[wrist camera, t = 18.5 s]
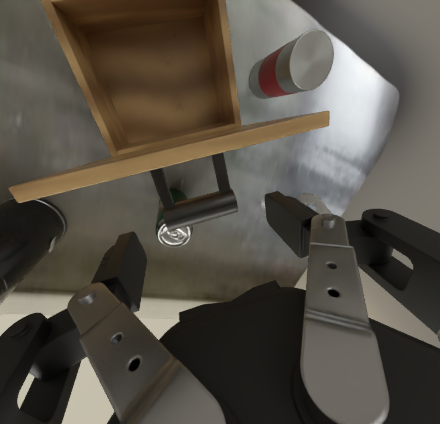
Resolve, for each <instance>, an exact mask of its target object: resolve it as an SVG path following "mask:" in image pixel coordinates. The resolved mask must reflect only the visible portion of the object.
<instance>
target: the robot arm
mask: <svg viewBox="0 0 440 424" xmlns="http://www.w3.org/2000/svg"><path fill="white" fill-rule="evenodd" d="M265 207H266V217H267V221H268V223H269V225H270V226H271V227H272V228H273V230H274V231H275V232H276V233H277V234H278V235H279V236H280V237H281V238H282V239H283V240H284V242H285V243H286V244H287V245H288V246H289V247H290V248H291V249H292V250H293V251H294V253H295V254H296V255H297V256H298V257H299V258H303V257H306V256H308V270H307V284H306V290H303V289H298V288H292V287H280V286H279V285H278V283H277V282H276V280H274V281H271V282H269V283H266V284H263V285H260V286H257V287H254V288H252V289H250V290H249V291H247V292H245V293H244V294H242V295H241V296H239V297H237V298H236V299H234V300H232V301H230V302H223V303H212V304H203V305H200V306H197V307H194V308H192V309H189V310H186V311H183V312H180V313H179V320H180V322H178V323H177V324H175V325H174V326H173V327H171V328H170V329H169V330H168V331H167V332H166V333H165V334H164V335H163V336H162V337H161V338H160V340H158V339H157V338H156V337H155V336H154V335H153V334H152V333H151V332H150V331H149V330H148V328H146V326H145V325H144V324H143V323H142V322H141V321H140V320H139V319H138V318H137V317H136V316H135V315H134V312H137V311H139V308H140V302H141V295H142V289H143V283H144V277H145V271H146V264H147V258H146V254H145V251H144V249H143V247H142V245H141V243H140V241H139V239H138V237H137V235H136V233H135V232H129V233H126V234H122V235H119V237H118V239H117V242H116V244H115V246H112V247H111V248H110V249H109V250H108V251H107V252H106V253H105V255H104V257H103V259H102V261H101V264H100V267H99V268H98V270H97V272H96V274H95V276H94V278H93V280H92V282H91V284H90V285H88V286H86V287H84V288H82V289H81V290H80V291H78V292H77V293H76V294H75V295H74V296H73V297H72V298H71V300H70V301H69V303H68V306H67V309H65V310H63V311H61V312H59V313H57V314H56V315H54V316H52V317H50V318H48V319H47V318H46V317H45V316H44V315H43V314H41V313H33V314H30V315H28V316H26V317H24V318H22V319H20V320H19V321H17V322H16V323H14V324H13V325H12V326H10V327H9V328H8V329H7V330H6V331H5V332H4V333H3V334H2V335H1V336H0V424H61V423H62V420H63V417H64V414H65V411H66V408H67V405H68V401H69V398H70V395H71V392H72V388H73V385H74V382H75V379H76V376H77V373H78V369H79V366H80V363H81V360H82V359H84V358H85V357H88V359H89V361H90V363H91V365H92V367H93V369H94V371H95V373H96V375H97V377H98V379H99V381H100V383H101V385H102V387H103V389H104V391H105V393H106V395H107V397H108V399H109V401H110V403H111V405H112V407H113V409H114V413H113V415H112V416H111V418H110V420H109V421H108V423H107V424H440V349H439V348H437V347H435V346H433V345H430V344H428V343H426V342H423V341H421V340H419V339H417V338H414V337H412V336H410V335H407V334H405V333H403V332H401V331H398V330H396V329H394V328H391V327H389V326H387V325H384V324H382V323H380V322H378V321H375V320H373V319H371V318H368V314H367V309H366V304H365V299H364V294H363V289H362V284H361V279H360V274H359V269H358V266H359V267H360V268H361V269H362V270H363V271H364V272H365V273H367V274H368V275H369V276H370V277H371V278H372V279H373V280H375V281H376V282H377V283H378V284H379V285H380V286H381V287H383V288H384V289H385V290H386V291H387V292H388V293H389V294H391V295H392V296H393V297H394V298H395V299H396V300H398V301H399V302H400V303H401V304H402V305H403V306H404V307H406V308H407V309H408V310H409V311H410V312H411V313H413V314H414V315H415V316H416V317H417V318H418V319H419V320H420V321H422V322H423V323H424V324H425V325H426V326H427V327H429V328H430V329H431V330H432V331H433V332H434V333H435V334H436V335H438V338H439V341H440V233H438V232H436V231H434V230H432V229H429V228H427V227H425V226H423V225H421V224H419V223H417V222H415V221H412V220H410V219H408V218H406V217H404V216H402V215H399V214H397V213H395V212H393V211H390V210H385V209H369V210H366V211H364V212H363V214H362V218H361V220H355V221H345V220H344V219H343V218H341V217H339V216H337V215H333V214H319V213H317V212H315V211H314V210H312V209H311V208H309V207H308V206H306V205H305V204H303V203H301V202H300V201H299V200H297V199H296V198H292V197H289V196H284V195H283V194H281V193H280V192H278V191H276V192H272V193H269V194H266V195H265ZM66 228H67V224H66V220H65V218H64V216H63V214H62V213H61V212H60V210H59V209H58V208H56V207H55V206H54V205H52V204H51V203H49V202H47V201H45V200H43V199H40V198H38V199H34V200H30V201H26V202H22V203H18V202H17V201H16V199H15V198H14V197H12V198H9V199H7V200H5V201H3V202H1V203H0V304H1V303H2V302H3V301H4V300H5V299H6V298H7V296H8V295H9V294H10V293H11V292H12V291H13V290H14V289H15V288H16V287H17V285H18V284H19V283H20V282H21V281H22V280H23V279H24V278H25V277H26V276H27V274H28V273H29V272H30V271H31V270H32V269H33V268H34V267H35V266H36V265H37V263H38V262H39V261H40V260H41V259H42V258H43V257H44V256H45V255H46V253H47V252H48V251H49V253H50V252H51V251H52V250H53V246H54V245H55V244H56V243H57V242H58V241H59V240H60V239H61V238H62V237H63V236H64V234H65V232H66ZM393 249H396V250H397V251H399V252H401V253H402V254H404V255H405V256H407V257H408V258H409V259H410V260H411V262H412V264H413V270H412V269H410V268H409V267H407V266H406V265H404V264H403V263H402V262H400V261H399V260H397V259H396V258H394V257H393V256H391V255H392V252H393ZM28 373H30V374H32V375H33V376H34V377H35V378H34V380H33V382H32V384H31V387H30V388H29V391H28V393H27V395H26V397H25V399H24V401H23V403H22V405H21V407H20V409H19V408H18V404H17V398H18V394H19V391H20V389H21V387H22V385H23V383H24V381H25V379H26V377H27V375H28Z"/></svg>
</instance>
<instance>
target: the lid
mask: <svg viewBox="0 0 440 424" xmlns="http://www.w3.org/2000/svg"><path fill="white" fill-rule="evenodd" d="M326 126H329V111H323V112H318V113H312V114H306V115H300V116H295V117H289V118H283V119H277V120H272V121H266V122H260V123H255V124H249V125H243V126H239V127H234V128H230V129H226V130H222V131H217V132H213V133H209V134H205V135H200V136H196V137H192V138H188V139H184V140H179V141H175V142H171V143H167V144H162V145H158V146H154V147H150V148H145V149H141V150H137V151H133V152H129V153H124V154H120V155H116V156H112V157H108V158H105V159H101V160H98V161H95V162H92V163H88V164H85V165H82V166H78V167H75V168H72V169H68V170H65V171H62V172H58V173H55V174H52V175H48V176H45V177H42V178H38V179H35V180H32V181H28V182H25V183H22V184H18V185H15V186H12V187H9V188H8V189H9V191H10V192H11V194H12V195H13V197H14V198H15V199H16V201H17V202H18V203H22V202H26V201H30V200H34V199H38V198H42V197H46V196H50V195H54V194H58V193H62V192H66V191H70V190H74V189H78V188H82V187H86V186H90V185H94V184H98V183H102V182H106V181H110V180H114V179H118V178H122V177H126V176H130V175H134V174H138V173H142V172H146V171H150V172H151V175H152V177H153V180H154V183H155V186H156V189H157V191H158V194H159V197H160V200H161V202H162V205H163V207H162V215H163V219H164V222H165V225H166V227H167V229H168V230H169V231H173V230H176V229H180V228H183V227H187V226H190V225H194V224H197V223H200V222H204V221H207V220H211V219H214V218H218V217H221V216H225V215H228V214H232V213H235V212H237V211H238V206H237V201H236V197H235V194H234V192H233V190H232V189H231V188H230V185H229V180H228V175H227V170H226V165H225V160H224V155H223V152H226V151H230V150H234V149H238V148H242V147H246V146H250V145H254V144H258V143H262V142H266V141H270V140H274V139H278V138H282V137H286V136H290V135H294V134H298V133H302V132H306V131H310V130H314V129H318V128H322V127H326ZM210 155H211V156H212V160H213V165H214V169H215V174H216V178H217V183H218V187H219V191H217V192H214V193H210V194H206V195H203V196H199V197H195V198H192V199H188V200H185V201H181V202H177V203H174V202H173V199H172V196H171V193H170V190H169V187H168V184H167V181H166V178H165V175H164V172H163V169H162V167H166V166H170V165H174V164H178V163H182V162H186V161H190V160H194V159H198V158H202V157H206V156H210Z"/></svg>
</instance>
